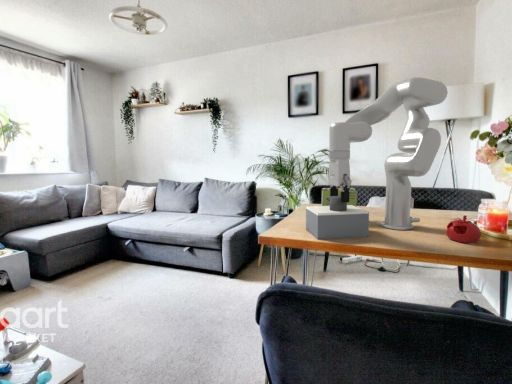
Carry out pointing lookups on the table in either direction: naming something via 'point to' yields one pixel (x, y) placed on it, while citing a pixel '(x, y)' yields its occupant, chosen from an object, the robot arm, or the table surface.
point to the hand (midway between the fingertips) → (339, 200)
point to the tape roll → (337, 204)
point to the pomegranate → (463, 231)
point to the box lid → (326, 211)
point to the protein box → (327, 195)
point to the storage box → (337, 225)
